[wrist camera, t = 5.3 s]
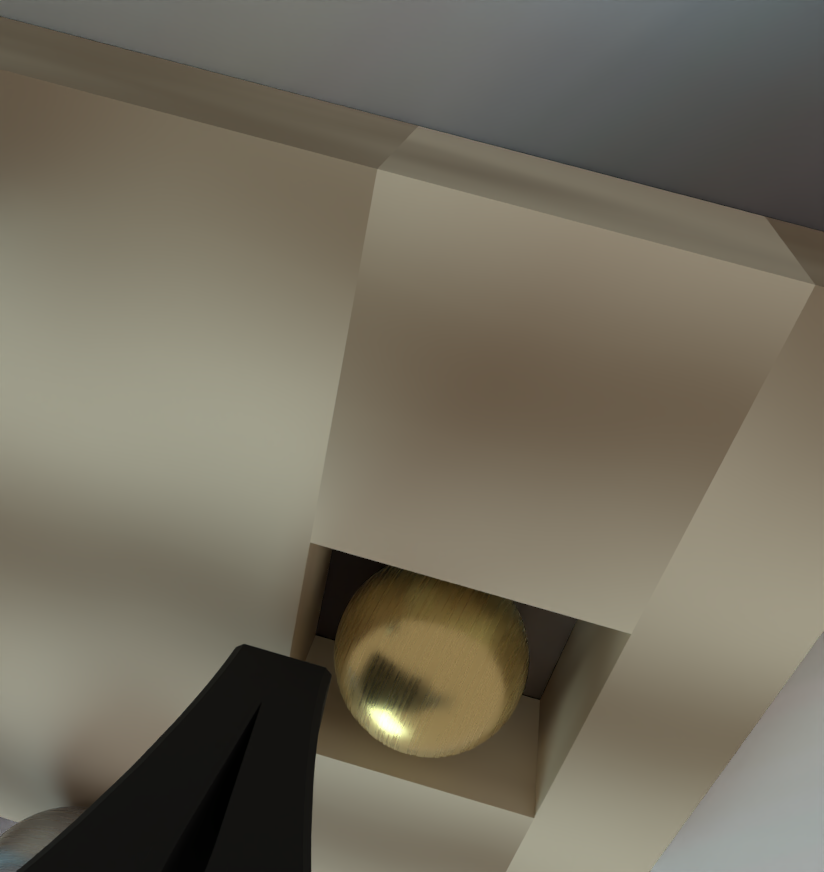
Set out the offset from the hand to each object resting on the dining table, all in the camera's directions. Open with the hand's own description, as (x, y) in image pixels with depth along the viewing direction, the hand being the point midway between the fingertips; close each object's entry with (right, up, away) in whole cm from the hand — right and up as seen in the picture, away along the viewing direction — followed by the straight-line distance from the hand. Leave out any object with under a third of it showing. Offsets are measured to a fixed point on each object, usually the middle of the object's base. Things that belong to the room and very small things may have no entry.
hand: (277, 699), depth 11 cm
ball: (+2, 0, +2) cm, 3 cm away
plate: (0, +2, +3) cm, 3 cm away
